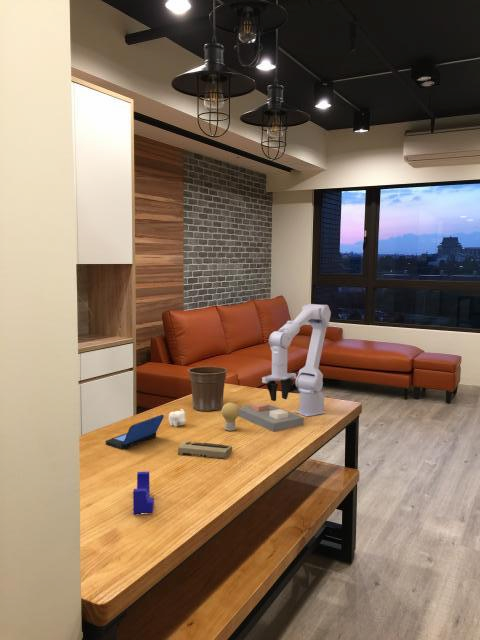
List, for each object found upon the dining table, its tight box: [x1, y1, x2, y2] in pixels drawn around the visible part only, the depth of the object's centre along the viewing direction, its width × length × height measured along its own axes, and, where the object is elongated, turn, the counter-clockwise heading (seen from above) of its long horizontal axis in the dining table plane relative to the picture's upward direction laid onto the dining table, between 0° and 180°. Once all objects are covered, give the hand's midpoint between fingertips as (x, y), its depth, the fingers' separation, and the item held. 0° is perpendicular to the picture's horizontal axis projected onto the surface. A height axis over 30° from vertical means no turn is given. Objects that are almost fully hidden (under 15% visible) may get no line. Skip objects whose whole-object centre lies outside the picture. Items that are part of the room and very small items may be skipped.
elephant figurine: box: [168, 408, 187, 428], centre depth 197 cm, size 7×8×6 cm
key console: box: [238, 402, 305, 433], centre depth 205 cm, size 14×24×3 cm, turn 34°
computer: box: [177, 441, 233, 460], centre depth 170 cm, size 16×8×3 cm, turn 76°
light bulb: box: [221, 402, 240, 432], centre depth 192 cm, size 6×6×10 cm
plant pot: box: [187, 365, 228, 412], centre depth 221 cm, size 16×16×16 cm
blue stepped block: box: [132, 471, 155, 515], centre depth 134 cm, size 12×4×6 cm, turn 6°
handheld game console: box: [105, 414, 165, 451], centre depth 179 cm, size 16×13×9 cm
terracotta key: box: [250, 401, 270, 412], centre depth 209 cm, size 5×5×3 cm
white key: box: [269, 408, 289, 419], centre depth 200 cm, size 5×5×3 cm
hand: (279, 399), depth 199 cm, fingers open, 5 cm apart
